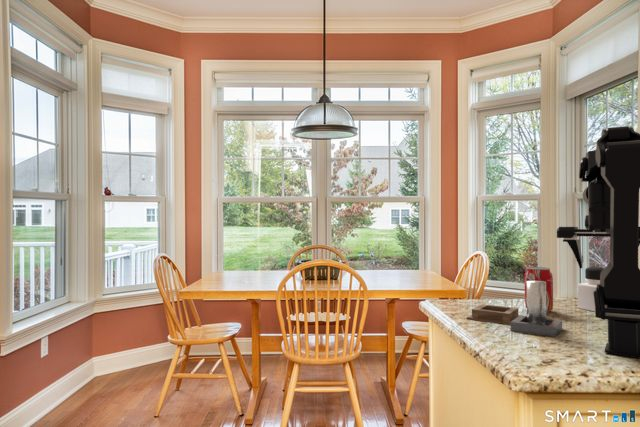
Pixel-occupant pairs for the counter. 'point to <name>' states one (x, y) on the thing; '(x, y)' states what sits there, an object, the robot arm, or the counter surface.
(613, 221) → the robot arm
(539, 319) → the silver metal cylinder
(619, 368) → the counter surface
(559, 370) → the counter surface
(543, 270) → the soda can
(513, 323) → the socket block
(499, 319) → the brown square tray
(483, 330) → the counter surface
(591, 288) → the medicine bottle
